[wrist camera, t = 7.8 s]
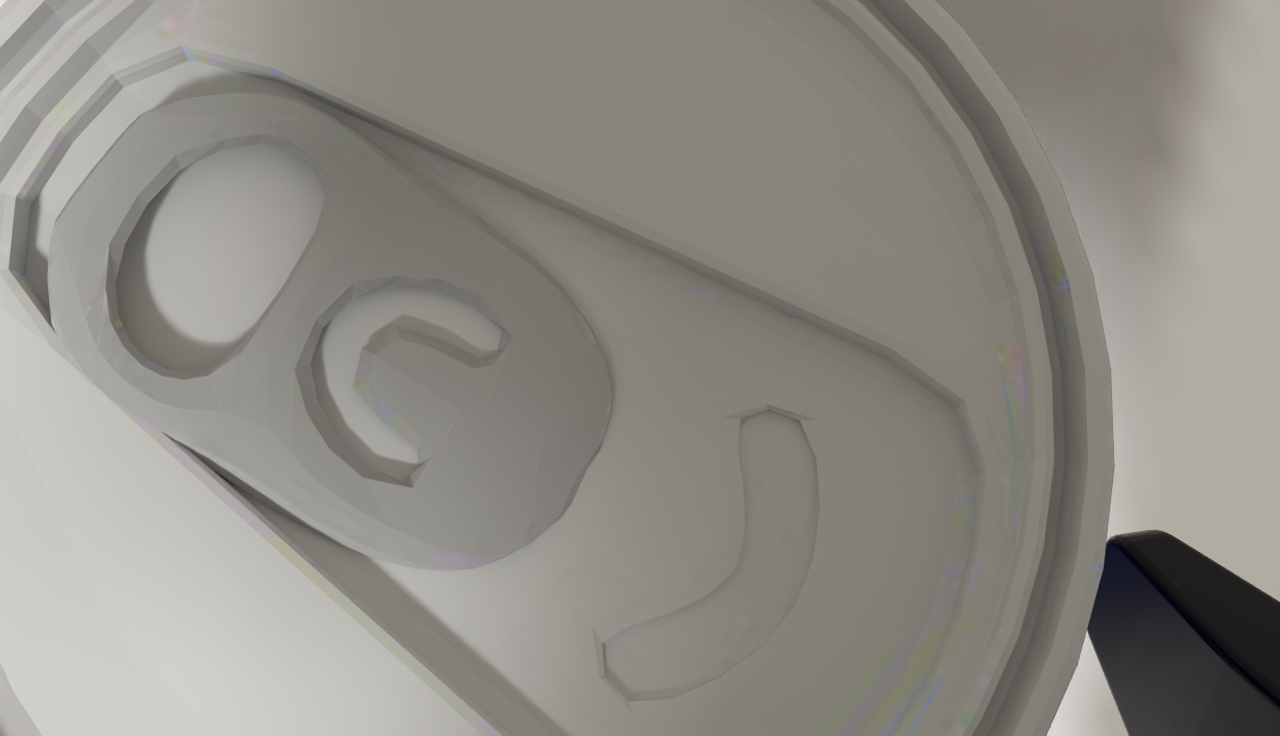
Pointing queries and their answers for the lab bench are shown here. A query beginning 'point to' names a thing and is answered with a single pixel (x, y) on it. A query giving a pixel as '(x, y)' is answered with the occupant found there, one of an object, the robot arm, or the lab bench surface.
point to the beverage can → (536, 373)
